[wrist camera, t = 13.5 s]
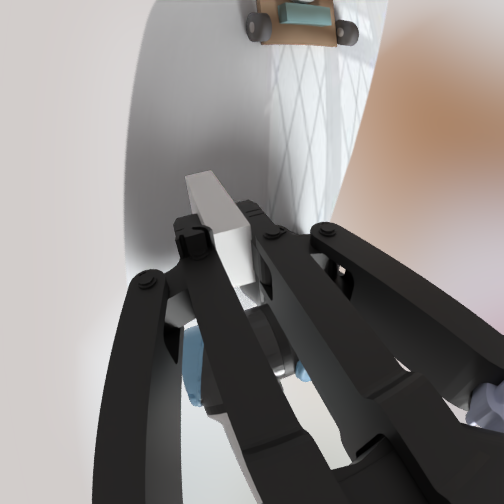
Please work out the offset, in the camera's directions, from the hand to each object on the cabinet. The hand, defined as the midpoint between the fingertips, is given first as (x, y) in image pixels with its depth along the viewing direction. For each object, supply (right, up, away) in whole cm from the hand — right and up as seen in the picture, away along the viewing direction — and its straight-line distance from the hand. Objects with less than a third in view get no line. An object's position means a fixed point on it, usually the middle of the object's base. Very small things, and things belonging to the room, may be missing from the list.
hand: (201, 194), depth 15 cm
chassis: (+9, +34, +11) cm, 37 cm away
